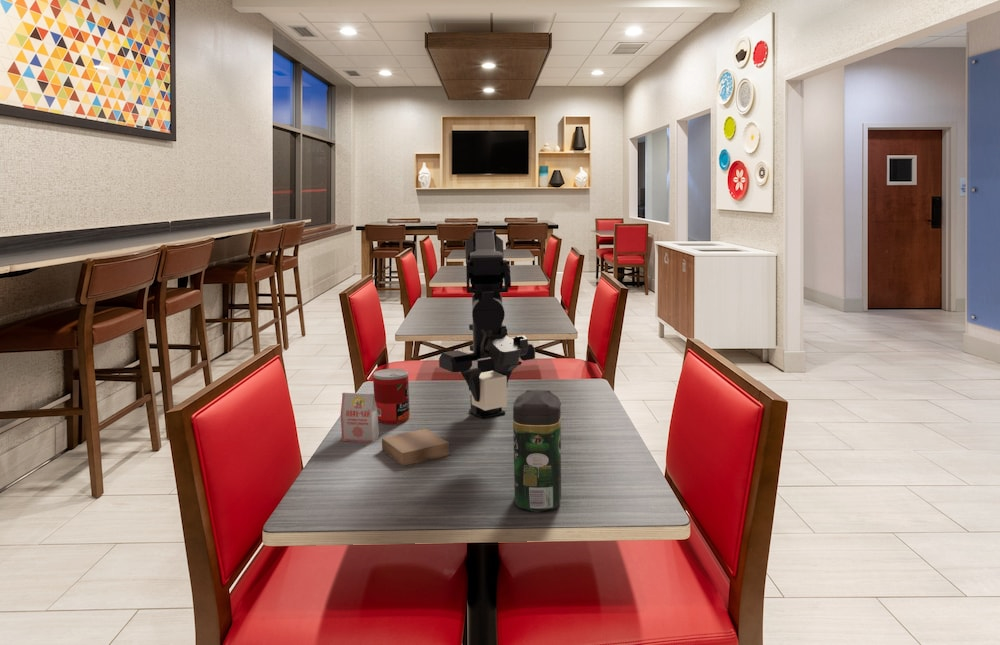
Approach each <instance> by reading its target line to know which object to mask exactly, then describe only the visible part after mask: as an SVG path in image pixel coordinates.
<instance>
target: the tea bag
mask: <svg viewBox="0 0 1000 645" xmlns="http://www.w3.org/2000/svg"><path fill="white" fill-rule="evenodd" d="M341 394H342V395H341V398H342V399H341V408H340V424H341V425H340V427H341V428H340V430H341V441H342V442H360V443H374V442H375V441H376V440H377V439H378V438H379V435H380V433H379V422H378V412H377V406H376V403H375V398H374V393H368V392H367V393H365V392H342V393H341Z"/></svg>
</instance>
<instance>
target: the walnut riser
mask: <svg viewBox="0 0 1000 645" xmlns="http://www.w3.org/2000/svg"><path fill="white" fill-rule="evenodd" d="M381 446H382V447H381V449H382V451H383V452H384V453H385V454H387V455H388V456H390V458H392V459H393V460H395V461H396V462H397V463H399V465H401V466H402V467H403V466H407V465H412V464H417V463H420V462H426V461H430V460H434V459H439V458H441V457H446V456H449V455H450V442H449V441H447V440H445V439H444V438H442V437H441V436H439V435H437V434H436V433H434V432H433V431H431V430H430V429H428V428H424V429H418V430H412V431H409V432H403V433H399V434H394V435H389V436H385V437H382V438H381Z"/></svg>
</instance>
